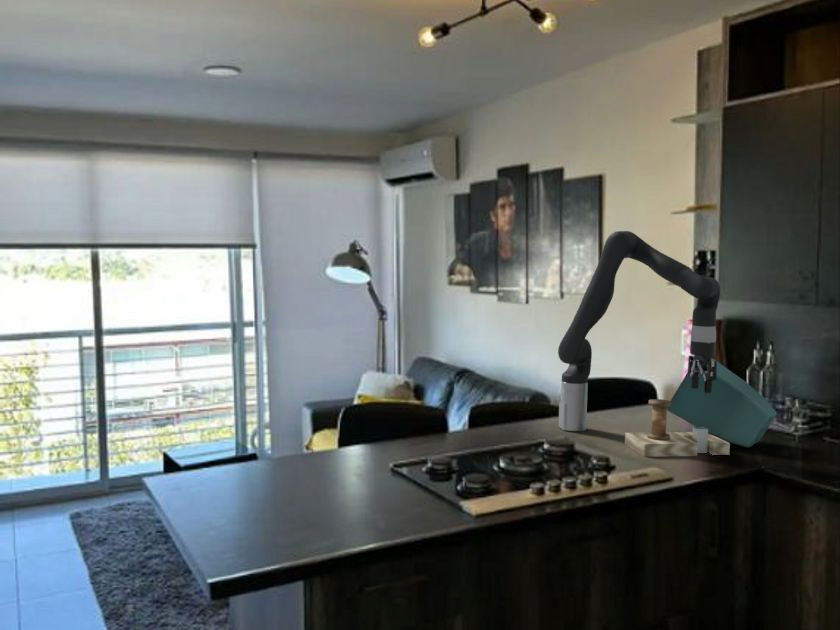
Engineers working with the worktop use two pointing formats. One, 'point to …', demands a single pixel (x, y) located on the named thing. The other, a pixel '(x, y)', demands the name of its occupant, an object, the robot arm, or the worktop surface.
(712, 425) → the flower pot
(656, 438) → the bobbin
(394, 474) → the worktop surface
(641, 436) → the notched board
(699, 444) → the tab peg
